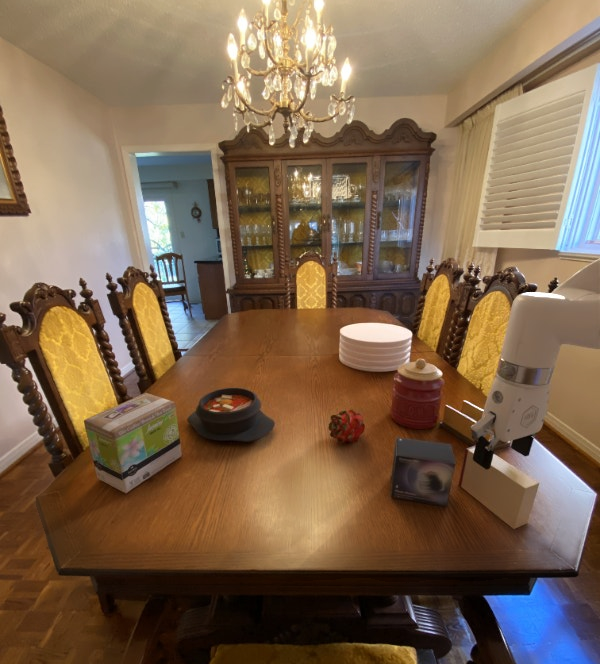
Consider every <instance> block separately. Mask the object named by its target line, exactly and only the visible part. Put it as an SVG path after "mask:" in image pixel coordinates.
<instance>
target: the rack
mask: <svg viewBox="0 0 600 664" xmlns="http://www.w3.org/2000/svg"><path fill="white" fill-rule="evenodd" d="M483 411H484V408H481V407H479V406H477V405H476V404H473V403H471V402H469V401H468V400H462V406H461V409H460V411H459V410H457V409H455V408H454V407H452V406H450V405H449V404H445V405H444V411H443V417H442V421H441V422H439V425H438V426H439V427H441V428H442V429H443V430H445V431H447V432H448V433H449V434H451V435H452V436H454V437H456V438H457V439H459V440H460V441H462V442H463V443H465V444H467V445H468V446H469V447H473V446H476V443H475V442H474V439H473V438H472V432H471V427H472V426H473V425H474V424H475V423H476V422H478V421H479V420H480V419H482V415H483ZM490 430H492V431H494V432H495V428H493V429H490ZM492 437H493V436H492V435H490V434H489V433H488V434H487V435H486V436H485V438H486V439H487V441H488V442H489V441H490V439H491V438H492ZM511 444H512V441H506V442H504V441H501V440H500V439H499V441H498V442H497V443H496V444H495V446H494V447H493V448H492V449H493V450H495V451H498V450H500V449H501V450H502V449H505V448H507V447H509V446H510V447H511Z"/></svg>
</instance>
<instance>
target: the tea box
mask: <svg viewBox="0 0 600 664" xmlns="http://www.w3.org/2000/svg"><path fill="white" fill-rule="evenodd" d="M83 423H84V429H85V433H86V437H87V442H88V445H89V450H90V454H91V458H92V462H93V465H94V470H95V474H96V477H97V479H98V480H100V481H101V482H103V483H105V484H107V485H109V486H110V487H113V488H115V489H116V490H119V491H120V492H122V493H125V494H128V493H129V492H130V491H132V490H133V489H134V488H136V487H138V486H139V485H140V484H142V483H143V482H145V481H146V480H148V479H150V478H151V477H152V476H154V475H156V474H157V473H159V472H161V470H163V469H165V468H166V467H167V466H169V465H170V464H172V463H174V462H176V461H177V460H178V459H180V458H181V457H182V456H183V454H182V453H183V452H182V445H181V438H180V431H179V425H178V417H177V409H176V404H175V401H174V400H173V401H172V400H170V399H167V398H163V397H160V396H157V395H154V394H150V393H148V392H144V393H142V394H140V395H138V396H136V397H133V398H130V399H129V400H126V401H125V402H122V403H120V404H118V405H115V406H113V407H111V408H108V409H105V410H103V411H101V412H99V413H97V414H94V415H92V416H90V417H88V418H85V419H83Z"/></svg>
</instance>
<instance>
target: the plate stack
mask: <svg viewBox="0 0 600 664" xmlns="http://www.w3.org/2000/svg"><path fill="white" fill-rule="evenodd" d="M412 340H413V332H412V331H411V330H410V329H408V328H406V327H403V326H400V325H395V324H390V323H382V322H360V323H353V324H349V325H345V326H343V327H341V328H340V329H339V350H338V353H339V354H338V360H339V361H340V362H341V363H342V364H343V365H345V366H347V367H349V368H352V369H355V370H360V371H365V372H374V373H375V372H378V373H381V372H382V373H383V372H393V371H398V367H400V366H401V365H404V364H405V363H408V362H410V357H411V350H412Z"/></svg>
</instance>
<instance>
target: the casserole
mask: <svg viewBox="0 0 600 664" xmlns="http://www.w3.org/2000/svg"><path fill="white" fill-rule="evenodd" d="M261 408H262V402H261V400H260V399H259V398H258V396H257V394H256V393H255V392H254V391H252V390H250V389H247V388H243V387H226V388H219V389H216V390H213V391H211V392H208V393H206V394H205V395H203V396H202V397H201V398H200V400H199V401H198V405H197V406H196V407H195V410H194V411H193V412H191V414H189V416H188V417H187V418H186V420H187V423H188V424H189V425H191V426H192V427H193V428H194V430H195V432H196V433H197V434H198V435H199V436H200V437H203V438H204V439H208V440H213V441H235V442H246V443H249V442H250V443H251V442H254V441H257V440H260V439H262V438H264V437H266V436H267V435H269V434H270V433H271V432H272V431H273V430H274V428H275V425H276V422H275V420H274V419H272V418H270V417H269V416H267V415H266V414H265V413H264V412H263V411H261Z"/></svg>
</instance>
